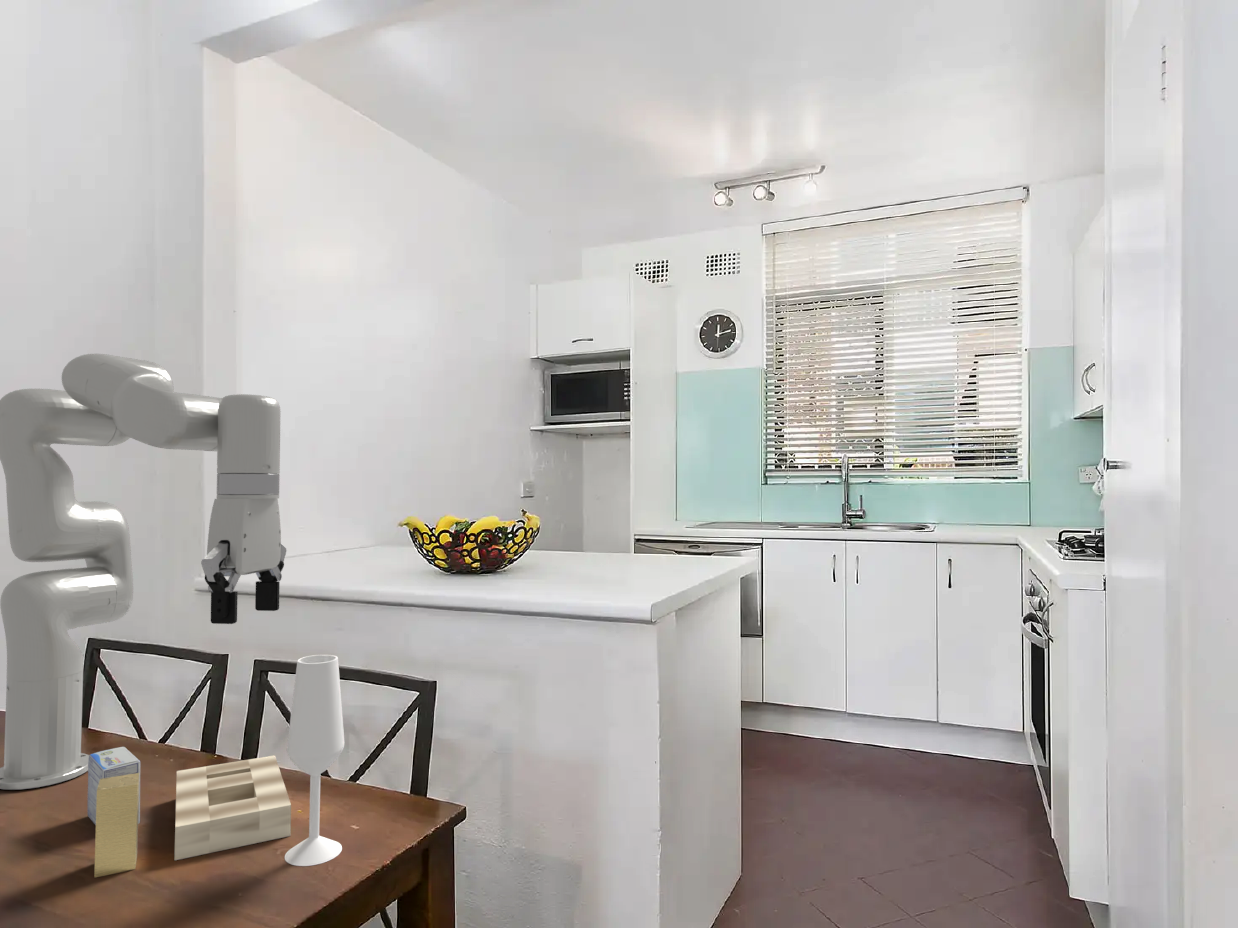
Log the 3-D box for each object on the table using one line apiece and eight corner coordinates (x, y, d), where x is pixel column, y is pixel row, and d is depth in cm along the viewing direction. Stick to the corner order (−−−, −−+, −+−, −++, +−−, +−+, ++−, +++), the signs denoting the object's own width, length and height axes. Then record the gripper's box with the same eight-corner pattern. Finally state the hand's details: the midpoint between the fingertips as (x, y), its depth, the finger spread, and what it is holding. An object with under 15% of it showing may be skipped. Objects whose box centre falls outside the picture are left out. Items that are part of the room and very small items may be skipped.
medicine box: (140, 824, 100) (142, 759, 100) (100, 836, 96) (102, 768, 97) (124, 806, 105) (125, 744, 105) (86, 816, 102) (87, 753, 102)
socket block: (175, 798, 108) (176, 770, 108) (274, 781, 114) (274, 755, 114) (174, 860, 90) (175, 827, 90) (290, 835, 97) (291, 804, 97)
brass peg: (97, 862, 90) (100, 778, 90) (137, 854, 92) (139, 772, 92) (94, 877, 86) (96, 790, 87) (135, 868, 88) (137, 784, 89)
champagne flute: (272, 862, 90) (276, 663, 91) (307, 836, 97) (311, 651, 97) (321, 869, 89) (325, 667, 89) (353, 842, 95) (356, 654, 96)
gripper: (258, 487, 108) (257, 605, 108) (178, 488, 91) (175, 628, 90) (308, 487, 108) (306, 606, 107) (236, 488, 90) (234, 629, 90)
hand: (246, 616), depth 99 cm, fingers open, 9 cm apart
